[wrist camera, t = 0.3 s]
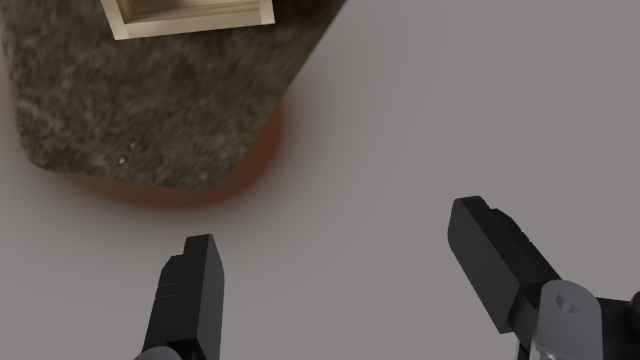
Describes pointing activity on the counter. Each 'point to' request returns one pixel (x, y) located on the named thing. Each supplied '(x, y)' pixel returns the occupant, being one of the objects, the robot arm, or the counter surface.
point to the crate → (183, 16)
